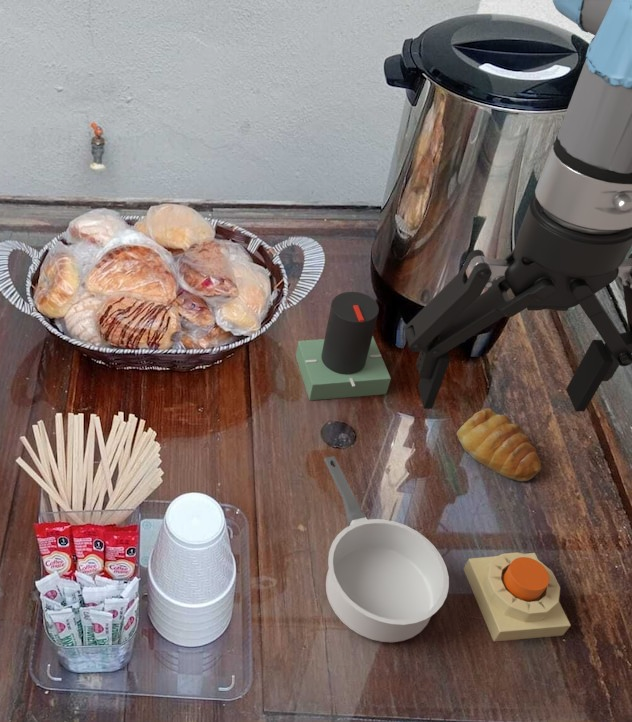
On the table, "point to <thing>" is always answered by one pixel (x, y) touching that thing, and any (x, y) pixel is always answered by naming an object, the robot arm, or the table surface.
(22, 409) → the table surface
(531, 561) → the button
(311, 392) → the panel
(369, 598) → the saucepan
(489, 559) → the block
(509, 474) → the pastry
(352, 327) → the timer knob
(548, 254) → the robot arm
